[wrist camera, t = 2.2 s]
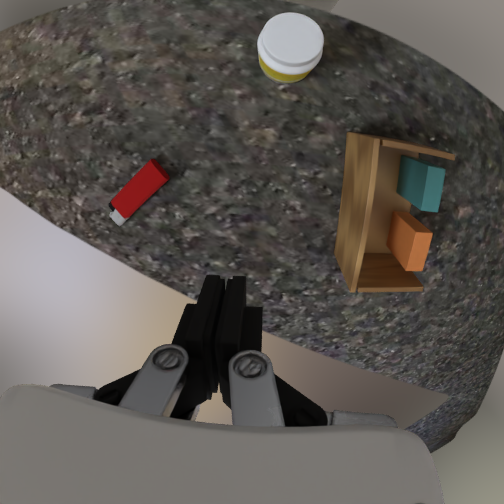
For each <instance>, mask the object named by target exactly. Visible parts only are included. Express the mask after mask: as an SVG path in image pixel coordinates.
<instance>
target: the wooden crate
mask: <svg viewBox="0 0 504 504" xmlns="http://www.w3.org/2000/svg"><path fill="white" fill-rule="evenodd" d="M419 153H424V154H428V155H433V156H437V157H442V158H446V159H450V160H455V155H454V154H451V153H448V152H445V151H442V150H438V149H435V148H432V147H428V146H425V145H421V144H418V143H414V142H409V141H404V140H398V139H393V138H387V137H381V136H375V135H369V134H362V133H354V132H347V139H346V153H345V166H344V177H343V187H342V196H341V205H340V213H339V221H338V228H337V236H336V243H335V249H334V255H335V257H336V259H337V262H338V264H339V266H340V269H341V271H342V273H343V276H344V278H345V281H346V283H347V285H348V288H349V290H350V292H355V291H356V288H357V291H358V292H403V291H423V288H424V287H423V285H422V284H421V282H420V281H419V280H418V278H417V277H416V276H415V274H414V273H413V272H412V271H405V269H404V268H403V267H402V265H401V264H400V263H399V261H398V260H397V259H396V257H395V256H394V255H393V253H392V252H391V251H390V250H389V248H388V247H387V246H386V243H387V239H388V234H389V229H390V224H391V219H392V213H393V211H398V212H408V213H410V208H411V203H410V202H409V201H407V200H406V199H405V198H403V197H402V196H400V195H399V194H398V193H396V190H397V183H398V176H399V168H400V160H401V155H405V156H410V157H416V158H418V155H419Z"/></svg>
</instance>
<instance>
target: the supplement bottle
mask: <svg viewBox="0 0 504 504" xmlns="http://www.w3.org/2000/svg"><path fill="white" fill-rule="evenodd" d="M323 44H324V36H323V33H322V30H321V29H320V27H319V26H318V24H317V23H316V22H315V21H313V20H312V19H311V18H309V17H307V16H305V15H302V14H299V13H283V14H279V15H276V16H274V17H273V18H271V19H270V20H269V21H268V22H267V23H266V25H265V26H264V28H263V30H262V31H261V33H260V35H259V37H258V42H257V47H258V54H259V63H260V67H261V69H262V71H263V73H264V74H265V75H266V76H267V77H268V78H269V79H271V80H273V81H275V82H277V83H281V84H292V83H296V82H299V81H300V80H302V79H304V78H305V77H306V76H307V75H308V74H309V72H310V71H311V70H312V69H313V68H314V67H315V66H316V65H317V64H318V62H319V61H320V59H321V56H322V52H323Z"/></svg>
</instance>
